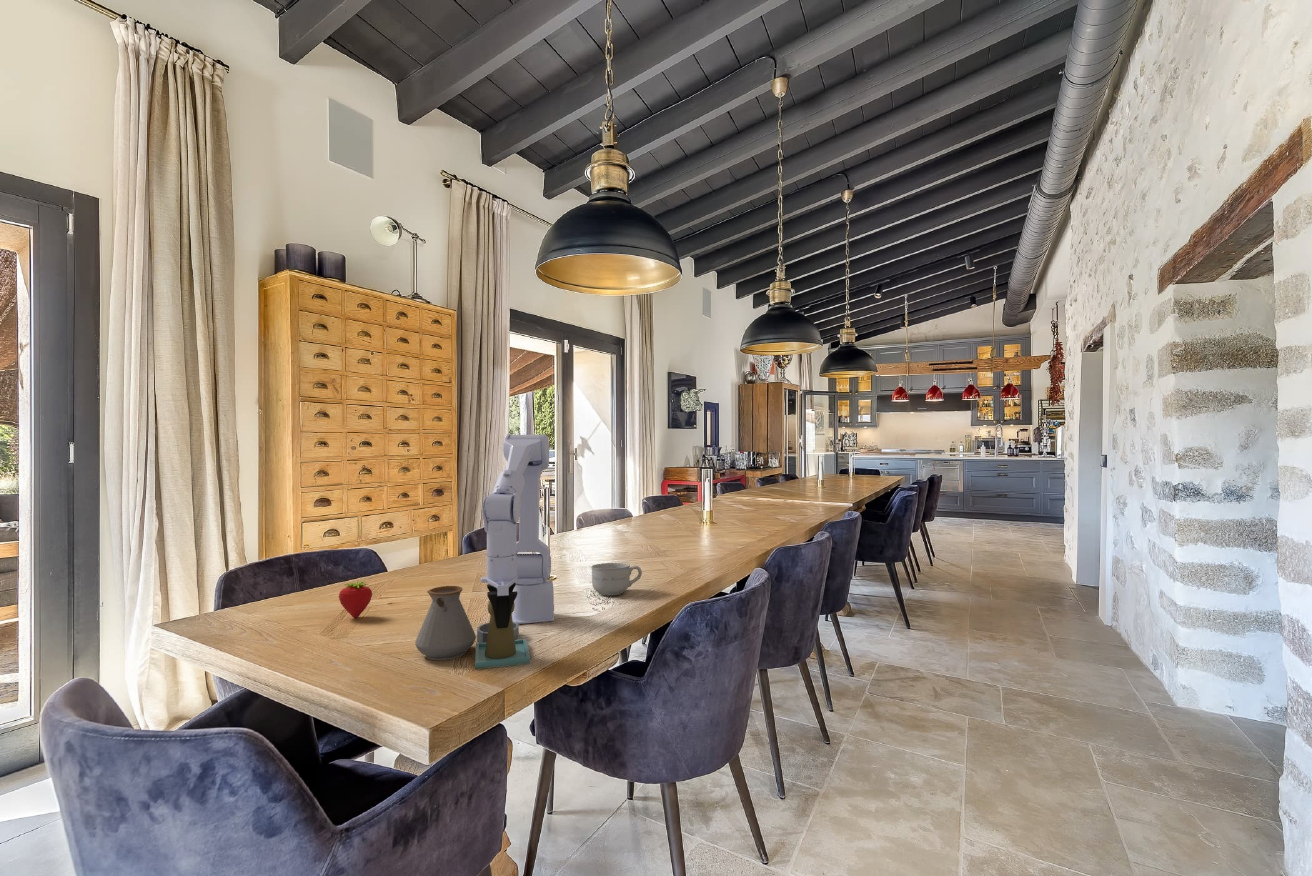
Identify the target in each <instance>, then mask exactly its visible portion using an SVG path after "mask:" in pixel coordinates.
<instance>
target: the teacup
mask: <svg viewBox="0 0 1312 876" xmlns="http://www.w3.org/2000/svg"><path fill="white" fill-rule="evenodd" d="M590 568H591V584H592V585H591V586H592V588H593V589H594V590H595V592H597V594H599V595H600V594H601V596H619V595H622V594H624V593H625V591H627V589H628V588H630V587H632V585H633V584H634V583H636V582H637V581H638V580H640V578H641V577H642V575H643V571H642V569H641V567H640V566H638V565H633V566H631V565H630V564H628V563H626V562H625V563H624V562H603V563H596V564H593V565H591V566H590ZM633 570H637V572H638V574H637V576H636V577H635V578H633V579H631V574H632V571H633ZM623 592H624V593H623ZM621 593H622V594H621Z"/></svg>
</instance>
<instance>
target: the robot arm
mask: <svg viewBox="0 0 1312 876" xmlns="http://www.w3.org/2000/svg"><path fill="white" fill-rule="evenodd" d="M503 439H504V440H503V444H502V445H503V447H502V448H503V449H502V451H503V456H504V459H505V460H506V466H505V469H504V470H502V471H501V472H499V474H498V476H497V478H496V480H495V484H494V487H493V489H492V492H491V494H489V495H488V496H484V499H483V501H482V511H481V513H482V519H483V525H484V527H483V528H484V532H485V533H486V576H481V577H480V583H482V584H483V583H484V584H485V583H486V588H487V590H488V591H487V592H486V595H487V598H488V601H490V602H491V605H492V608H493V611H494V617H495V623H496V627H497V629H500V628H508V625H509V621H510V615H511V610H512V606H513V603H515V607H514V611H513V613H512V621H513V622H515V623H518V625H521V624H524V625H525V624H534V623H546V622H554V621H555V617H554V616H555V615H554V614H555V599H554V595H555V594H554V584H553V583H554V582H553V580H551V579H549V578H550V577H551V574H552V573H551V572H552V557H551V550H550V546H548V545H547V544H546V543H545V542H543V541H542V540H541V539H540V497H541V496H540V495H541V493H540V491H541V490H540V489H541V488H540V487H541V485H540V484H541V477H542V472H543V471H545V470H547V469H548V468H549V463H550V440H549V436H548V435H546V433H542V434H511V433H510V434H509V433H508V434H506V436H505V437H504V438H503ZM517 523H518V524H519V527H518V528H519V529H518V528H517V526H518V525H517ZM517 529H518V532H517ZM517 533H519V534H518V536H517ZM517 537H518V541H517Z"/></svg>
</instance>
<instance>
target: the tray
mask: <svg viewBox="0 0 1312 876" xmlns="http://www.w3.org/2000/svg"><path fill="white" fill-rule="evenodd" d="M515 646H516V654H515V655H513V656H511V657H507V658H501V659H494V658H488V657H486V656H485V649H486V643H478V642H477V643H475V662H474V663H475V664H474V665H475V668H474V669H475V670H479V669H480V670H482V669H489V668H490V669H491V668H500V667H508V666H511V667H512V666H519V665H527V664H528V665H529V664H531V655H530V651H529V647H528V642H527V639H526V638H519V639H517V640H515Z"/></svg>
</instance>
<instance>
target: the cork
mask: <svg viewBox="0 0 1312 876" xmlns="http://www.w3.org/2000/svg"><path fill="white" fill-rule="evenodd" d="M514 607H515V603H513V606H512V610H511V615H510V621H509V625H508V628H500V629H497V627H496V623H495V617H494V611H493V608H492V605H491V602H490V600H488V603H487V612H488V613H489V615H490V617H489V622H488V623H489V628H488V635H487V642H486V649H485V656H486V657H488V658H494V659H501V658H507V657H511V656H513V655H515V654H516V646H515V638H514V629H513V621H512V613H514Z"/></svg>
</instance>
